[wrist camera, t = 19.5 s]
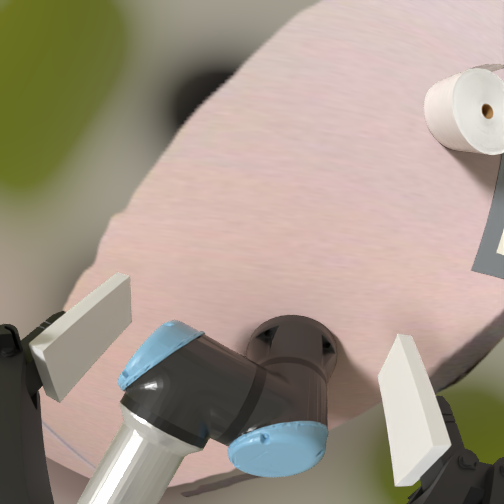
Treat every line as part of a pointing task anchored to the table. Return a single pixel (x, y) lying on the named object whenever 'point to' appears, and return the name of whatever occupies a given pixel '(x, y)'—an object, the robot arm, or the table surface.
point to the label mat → (493, 234)
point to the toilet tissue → (468, 111)
